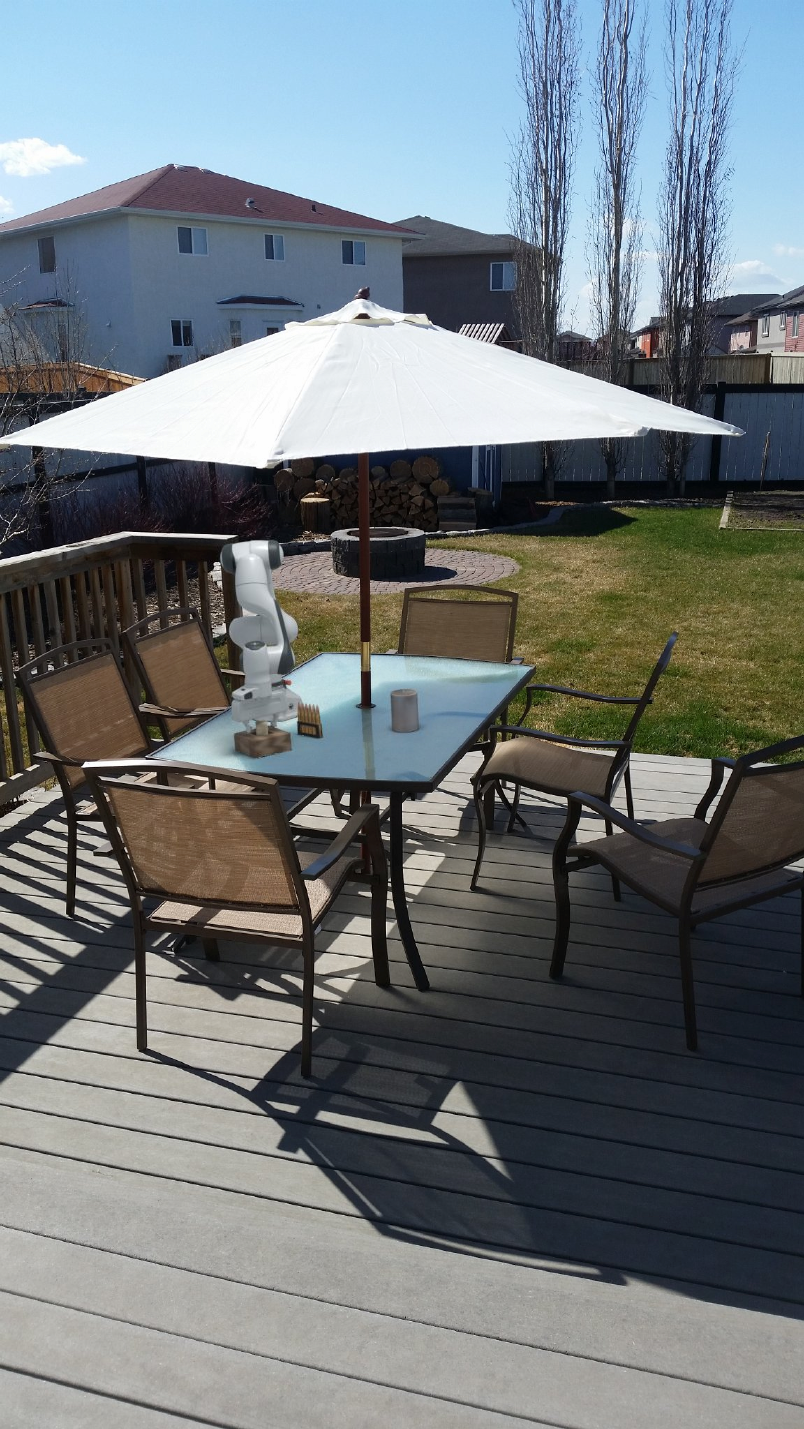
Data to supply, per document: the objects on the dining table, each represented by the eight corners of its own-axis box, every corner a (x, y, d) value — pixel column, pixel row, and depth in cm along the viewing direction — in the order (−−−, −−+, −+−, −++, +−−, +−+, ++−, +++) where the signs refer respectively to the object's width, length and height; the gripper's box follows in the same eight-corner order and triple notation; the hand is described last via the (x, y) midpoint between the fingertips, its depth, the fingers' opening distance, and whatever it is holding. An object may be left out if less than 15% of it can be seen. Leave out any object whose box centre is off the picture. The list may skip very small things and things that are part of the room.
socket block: (270, 741, 374) (269, 725, 372) (291, 749, 363) (290, 732, 362) (235, 750, 366) (233, 733, 364) (255, 758, 355) (254, 741, 353)
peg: (265, 747, 367) (263, 719, 365) (271, 750, 364) (269, 721, 362) (255, 750, 365) (253, 722, 362) (261, 752, 362) (259, 724, 359)
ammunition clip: (297, 734, 382) (295, 702, 378) (300, 733, 383) (298, 701, 380) (319, 738, 375) (317, 705, 372) (323, 737, 376) (320, 704, 373)
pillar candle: (395, 725, 388) (393, 685, 384) (421, 725, 386) (419, 685, 382) (389, 733, 379) (387, 692, 375) (416, 733, 377) (414, 692, 373)
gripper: (280, 683, 368) (283, 721, 371) (227, 693, 356) (231, 733, 359) (289, 685, 363) (292, 725, 366) (236, 696, 351) (240, 737, 354)
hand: (261, 729), depth 363 cm, fingers open, 8 cm apart
